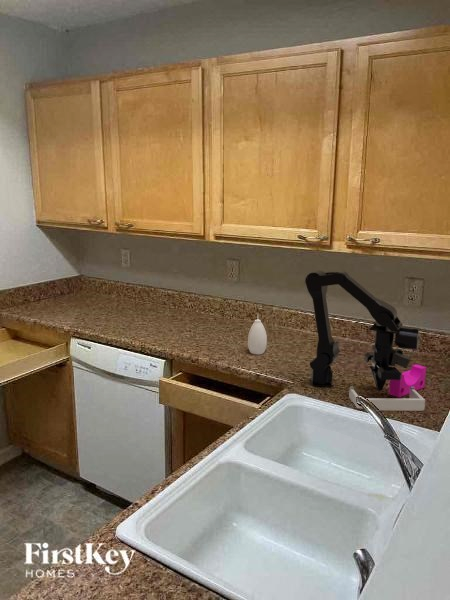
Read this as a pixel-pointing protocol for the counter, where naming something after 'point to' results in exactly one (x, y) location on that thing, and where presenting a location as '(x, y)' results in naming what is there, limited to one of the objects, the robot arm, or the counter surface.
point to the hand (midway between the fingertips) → (379, 390)
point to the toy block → (408, 381)
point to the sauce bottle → (257, 338)
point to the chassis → (394, 402)
